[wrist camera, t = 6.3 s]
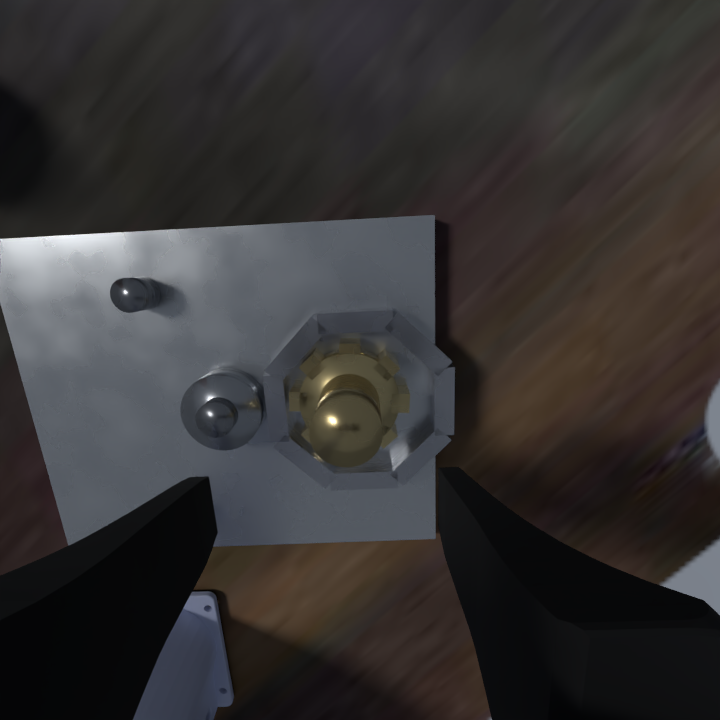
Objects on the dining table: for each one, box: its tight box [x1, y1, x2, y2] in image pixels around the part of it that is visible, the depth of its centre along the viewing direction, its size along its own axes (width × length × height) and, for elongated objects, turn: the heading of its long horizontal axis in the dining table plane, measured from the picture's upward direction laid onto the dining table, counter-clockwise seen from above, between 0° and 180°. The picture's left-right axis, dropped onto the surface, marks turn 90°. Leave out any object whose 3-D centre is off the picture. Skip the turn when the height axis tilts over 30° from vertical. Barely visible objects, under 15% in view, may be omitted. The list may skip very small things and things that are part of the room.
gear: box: [289, 338, 410, 467], centre depth 18 cm, size 6×6×5 cm
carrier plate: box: [0, 215, 455, 546], centre depth 20 cm, size 18×23×3 cm
